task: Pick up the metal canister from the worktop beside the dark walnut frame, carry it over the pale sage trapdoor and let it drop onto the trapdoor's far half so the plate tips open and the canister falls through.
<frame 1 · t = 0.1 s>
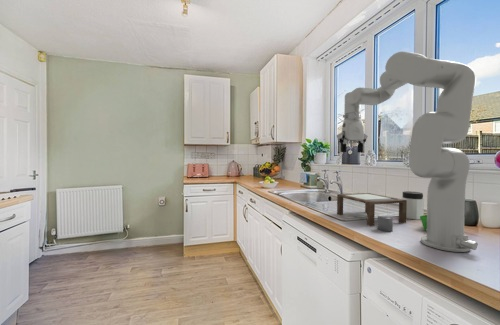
hand: (352, 152, 122), 31 cm above the countertop, tool pointing down, fingers open, 9 cm apart
trapdoor: (369, 198, 115), point 9 cm above the countertop, hinge at 0.0°
jar: (412, 218, 117), on the countertop
fruit basket: (437, 230, 98), on the countertop
trapdoor frame: (378, 221, 110), on the countertop
metal canister: (384, 230, 97), on the countertop
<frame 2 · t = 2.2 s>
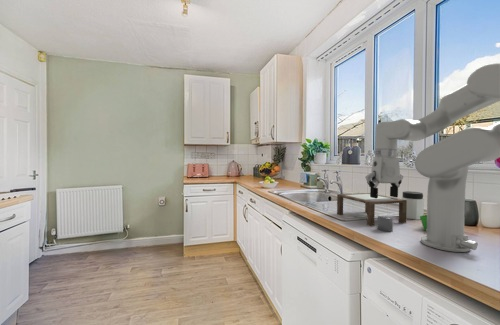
hand: (383, 197, 97), 13 cm above the countertop, tool pointing down, fingers open, 9 cm apart
nothing on the countertop moved.
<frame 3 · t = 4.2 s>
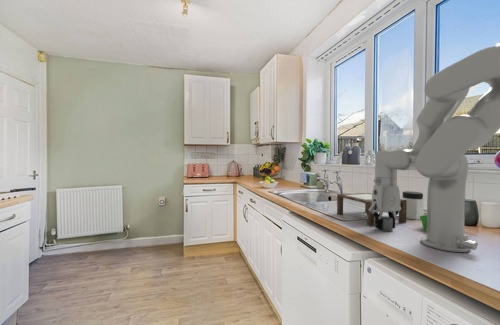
hand: (384, 227, 97), 1 cm above the countertop, tool pointing down, fingers closed on metal canister, 5 cm apart
metal canister: (384, 230, 97), on the countertop, touching gripper
everything else where it was.
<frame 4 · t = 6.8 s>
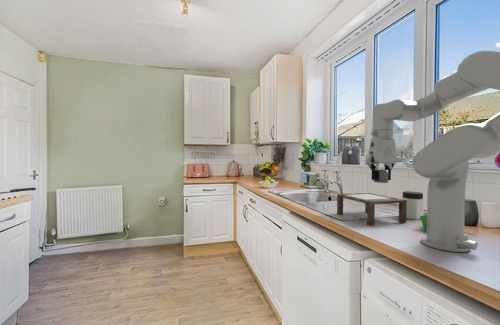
hand: (380, 179, 100), 20 cm above the countertop, tool pointing down, fingers closed on metal canister, 5 cm apart
metal canister: (380, 182, 100), point 19 cm above the countertop, touching gripper
everything else where it was.
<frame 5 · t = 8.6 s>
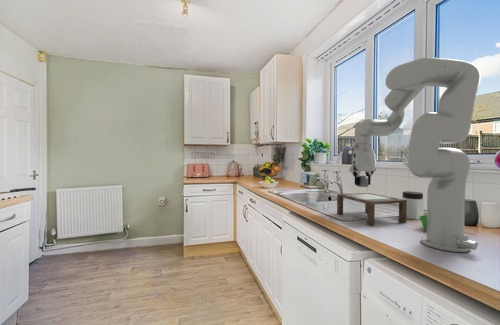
hand: (362, 184, 120), 15 cm above the countertop, tool pointing down, fingers closed on metal canister, 5 cm apart
metal canister: (362, 186, 120), point 14 cm above the countertop, touching gripper
everything else where it was.
when the fingers open (13 cm above the countertop, at t = 9.7 s): metal canister drops 9 cm and tips over, resting on trapdoor.
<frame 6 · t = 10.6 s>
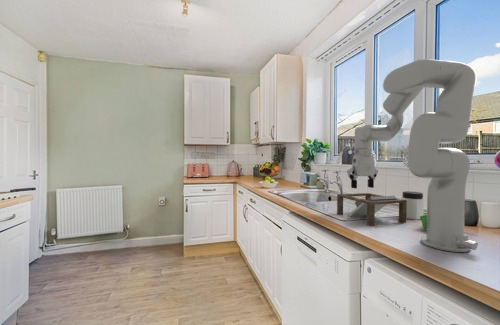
hand: (362, 187, 120), 14 cm above the countertop, tool pointing down, fingers open, 9 cm apart
trapdoor: (371, 206, 114), point 6 cm above the countertop, hinge at -38.9°, touching metal canister
metal canister: (364, 210, 118), point 3 cm above the countertop, tilted 39°, touching trapdoor
everything else where it was.
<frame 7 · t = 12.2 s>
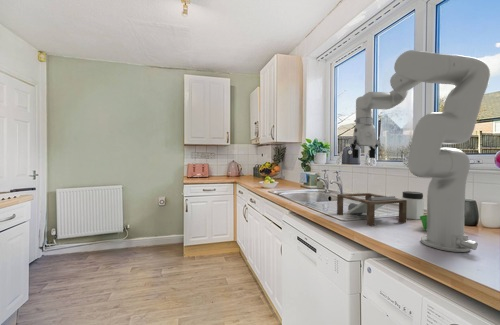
hand: (363, 157, 119), 28 cm above the countertop, tool pointing down, fingers open, 9 cm apart
trapdoor: (371, 205, 114), point 6 cm above the countertop, hinge at -32.6°, touching metal canister
metal canister: (359, 209, 122), point 3 cm above the countertop, tilted 90°, touching trapdoor
everything else where it was.
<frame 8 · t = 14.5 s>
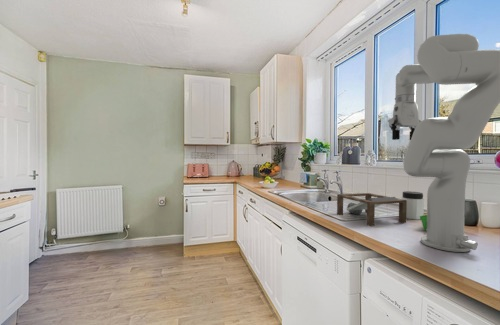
hand: (404, 139, 107), 36 cm above the countertop, tool pointing down, fingers open, 9 cm apart
trapdoor: (370, 204, 115), point 7 cm above the countertop, hinge at -26.6°, touching metal canister
everything else where it was.
at the end: metal canister point 2.6 cm above the countertop; metal canister inside the target area on the trapdoor frame (4.2 cm from its centre), point 2.6 cm above the trapdoor frame's base; the gripper is holding nothing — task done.
